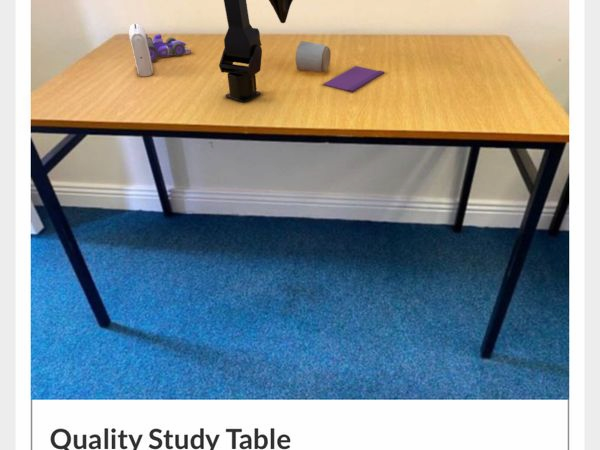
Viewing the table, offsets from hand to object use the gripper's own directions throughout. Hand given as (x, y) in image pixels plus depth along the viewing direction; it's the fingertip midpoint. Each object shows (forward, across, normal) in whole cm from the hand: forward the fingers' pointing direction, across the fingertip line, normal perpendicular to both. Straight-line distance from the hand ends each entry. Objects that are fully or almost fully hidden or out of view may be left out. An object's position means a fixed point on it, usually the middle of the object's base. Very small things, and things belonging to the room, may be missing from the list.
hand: (283, 22), depth 128 cm
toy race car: (+12, +37, +14) cm, 41 cm away
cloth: (+12, -22, -2) cm, 25 cm away
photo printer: (+12, +31, +26) cm, 42 cm away
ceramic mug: (+12, -9, -2) cm, 15 cm away
